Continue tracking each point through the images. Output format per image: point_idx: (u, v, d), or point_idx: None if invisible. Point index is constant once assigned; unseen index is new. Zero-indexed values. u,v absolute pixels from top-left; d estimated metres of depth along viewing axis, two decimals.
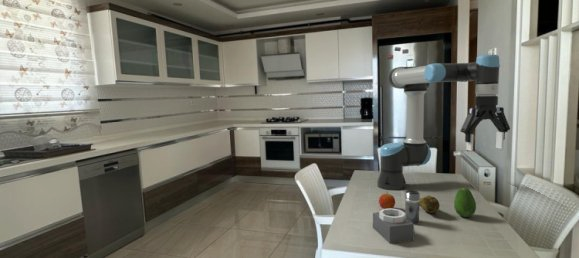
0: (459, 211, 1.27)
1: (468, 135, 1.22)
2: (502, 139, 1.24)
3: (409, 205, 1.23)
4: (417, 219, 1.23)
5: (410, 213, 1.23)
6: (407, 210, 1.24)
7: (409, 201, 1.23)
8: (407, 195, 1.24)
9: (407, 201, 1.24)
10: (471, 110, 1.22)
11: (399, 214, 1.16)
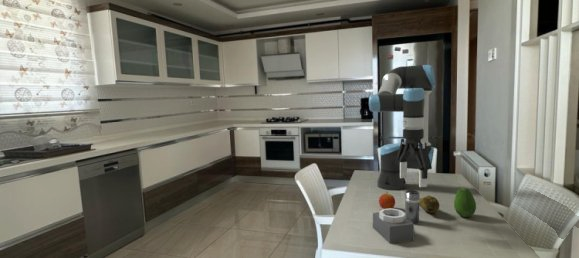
0: (459, 211, 1.27)
1: (400, 162, 1.31)
2: (419, 177, 1.17)
3: (409, 205, 1.23)
4: (417, 219, 1.23)
5: (410, 213, 1.23)
6: (407, 210, 1.24)
7: (409, 201, 1.23)
8: (407, 195, 1.24)
9: (407, 201, 1.24)
10: None
11: (399, 214, 1.16)
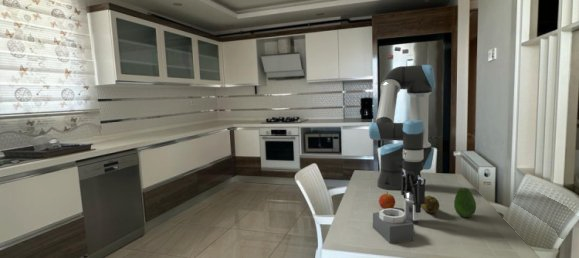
0: (459, 211, 1.27)
1: None
2: (413, 210, 1.22)
3: (409, 205, 1.23)
4: None
5: (410, 213, 1.23)
6: (407, 210, 1.24)
7: (409, 201, 1.23)
8: (407, 195, 1.24)
9: (407, 201, 1.24)
10: None
11: (399, 214, 1.16)
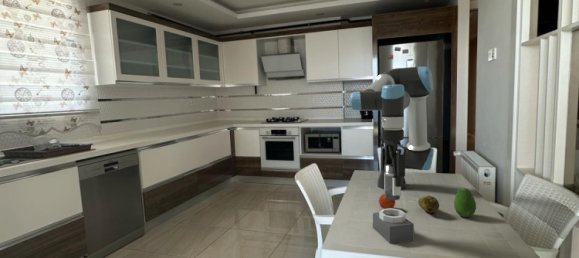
0: (459, 211, 1.27)
1: None
2: (393, 185, 1.10)
3: (388, 179, 1.11)
4: None
5: (389, 187, 1.12)
6: (386, 184, 1.12)
7: (389, 175, 1.11)
8: (386, 168, 1.12)
9: (386, 174, 1.12)
10: None
11: (399, 214, 1.16)
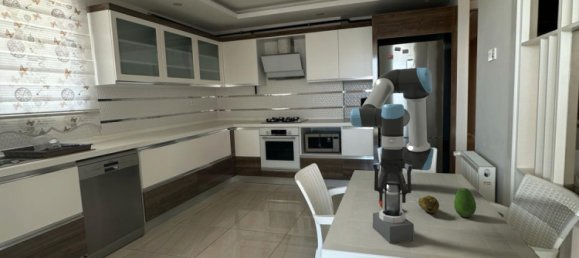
0: (459, 211, 1.27)
1: (380, 193, 1.15)
2: (400, 202, 1.12)
3: (396, 198, 1.12)
4: None
5: (397, 206, 1.12)
6: (394, 204, 1.12)
7: (396, 194, 1.11)
8: (393, 187, 1.11)
9: (394, 194, 1.11)
10: None
11: None
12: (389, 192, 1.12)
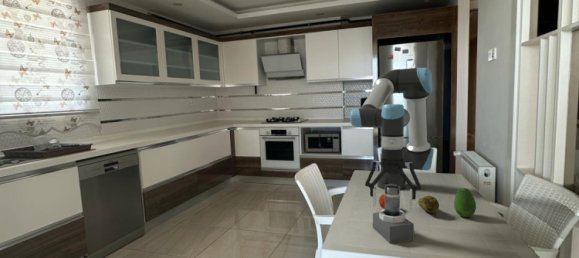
0: (459, 211, 1.27)
1: (370, 189, 1.16)
2: (410, 199, 1.11)
3: (396, 200, 1.12)
4: None
5: (397, 208, 1.12)
6: (393, 207, 1.12)
7: (396, 196, 1.12)
8: (393, 190, 1.11)
9: (394, 197, 1.12)
10: None
11: None
12: (389, 195, 1.12)
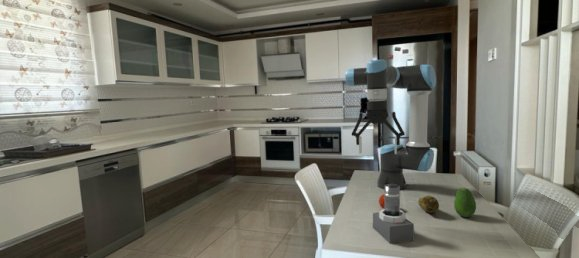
0: (459, 211, 1.27)
1: (357, 138, 1.28)
2: (395, 144, 1.23)
3: (396, 200, 1.12)
4: None
5: (397, 208, 1.12)
6: (393, 206, 1.12)
7: (396, 196, 1.12)
8: (393, 190, 1.11)
9: (393, 196, 1.12)
10: None
11: None
12: (389, 194, 1.12)
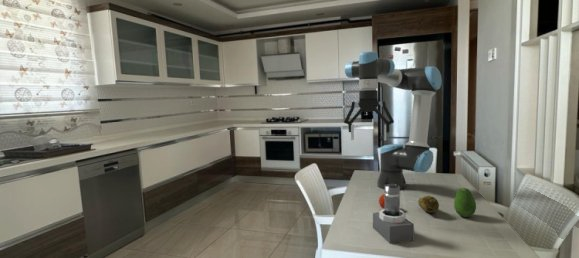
0: (459, 211, 1.27)
1: (349, 126, 1.35)
2: (385, 131, 1.30)
3: (396, 200, 1.12)
4: None
5: (397, 208, 1.12)
6: (393, 206, 1.12)
7: (396, 196, 1.12)
8: (393, 190, 1.11)
9: (393, 197, 1.12)
10: None
11: None
12: (389, 195, 1.12)
